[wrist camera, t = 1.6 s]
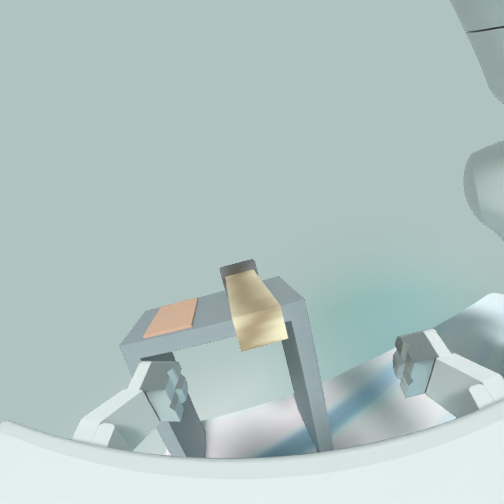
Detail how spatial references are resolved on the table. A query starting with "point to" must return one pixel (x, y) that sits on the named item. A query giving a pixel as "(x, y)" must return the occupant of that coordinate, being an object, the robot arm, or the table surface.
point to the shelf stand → (218, 328)
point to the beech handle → (252, 306)
